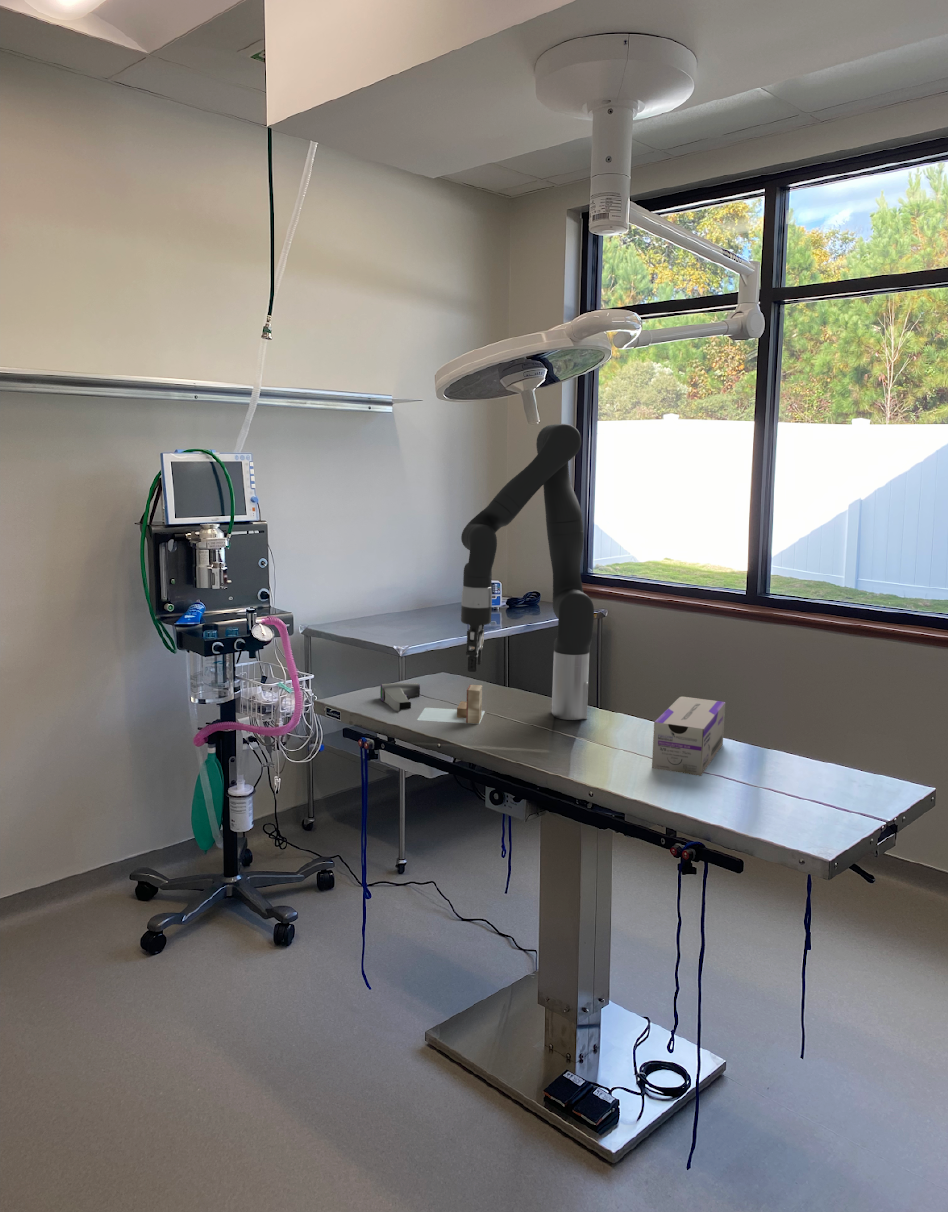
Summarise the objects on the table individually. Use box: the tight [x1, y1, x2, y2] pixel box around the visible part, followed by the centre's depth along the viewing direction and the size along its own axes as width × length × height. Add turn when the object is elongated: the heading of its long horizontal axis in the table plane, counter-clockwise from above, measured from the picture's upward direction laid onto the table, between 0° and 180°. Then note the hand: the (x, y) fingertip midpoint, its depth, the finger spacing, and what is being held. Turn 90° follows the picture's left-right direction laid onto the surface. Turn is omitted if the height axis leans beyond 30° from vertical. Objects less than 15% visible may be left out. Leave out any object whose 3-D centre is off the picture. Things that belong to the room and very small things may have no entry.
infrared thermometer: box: [379, 682, 421, 713], centre depth 253 cm, size 5×12×15 cm
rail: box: [456, 700, 467, 718], centre depth 241 cm, size 2×7×2 cm, turn 173°
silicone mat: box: [416, 707, 486, 725], centre depth 239 cm, size 16×12×1 cm
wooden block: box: [465, 684, 483, 725], centre depth 235 cm, size 3×6×8 cm, turn 173°
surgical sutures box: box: [651, 696, 726, 777], centre depth 212 cm, size 25×11×11 cm, turn 155°
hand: (474, 667), depth 233 cm, fingers open, 8 cm apart
